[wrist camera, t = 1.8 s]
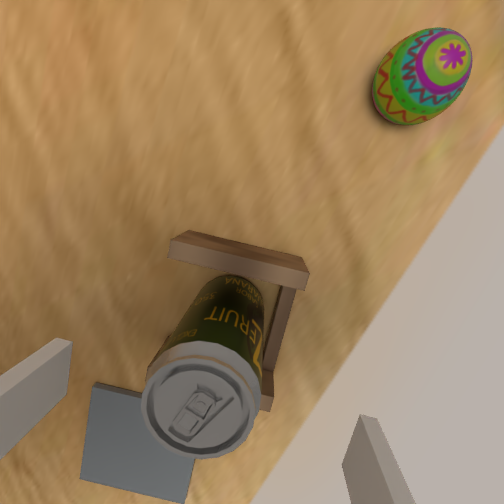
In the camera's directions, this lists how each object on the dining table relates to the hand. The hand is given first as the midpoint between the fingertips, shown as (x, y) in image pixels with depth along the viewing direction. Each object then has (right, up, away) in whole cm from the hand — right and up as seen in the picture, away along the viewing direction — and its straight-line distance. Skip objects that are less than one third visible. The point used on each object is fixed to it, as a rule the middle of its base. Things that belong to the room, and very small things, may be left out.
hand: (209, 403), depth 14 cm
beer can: (0, +2, +11) cm, 12 cm away
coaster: (-8, -11, +14) cm, 20 cm away
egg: (+12, +18, +8) cm, 23 cm away
